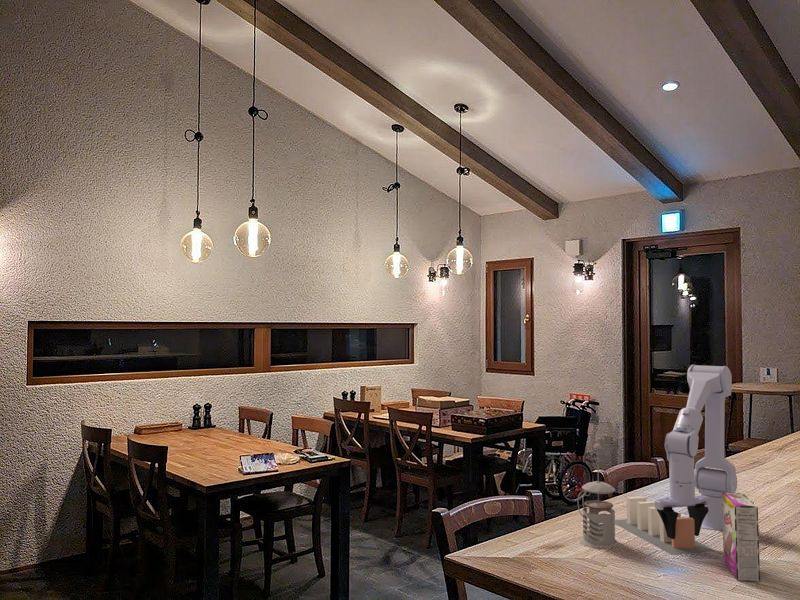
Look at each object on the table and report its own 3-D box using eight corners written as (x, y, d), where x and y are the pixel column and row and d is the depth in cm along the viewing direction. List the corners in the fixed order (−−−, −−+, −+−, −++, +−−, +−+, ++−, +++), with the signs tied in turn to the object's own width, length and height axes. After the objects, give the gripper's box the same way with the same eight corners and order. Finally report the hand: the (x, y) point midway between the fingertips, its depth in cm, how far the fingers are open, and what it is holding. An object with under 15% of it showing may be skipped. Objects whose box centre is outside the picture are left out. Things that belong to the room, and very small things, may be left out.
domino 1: (627, 522, 185) (626, 497, 185) (643, 521, 186) (642, 496, 186) (630, 524, 183) (629, 498, 184) (646, 523, 185) (646, 497, 185)
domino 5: (671, 545, 166) (671, 517, 167) (692, 546, 166) (692, 517, 166) (673, 547, 165) (673, 519, 165) (694, 548, 164) (694, 519, 164)
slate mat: (609, 521, 187) (609, 520, 187) (647, 518, 190) (647, 517, 190) (671, 556, 160) (671, 554, 160) (715, 552, 163) (715, 550, 163)
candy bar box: (721, 562, 156) (720, 491, 156) (745, 564, 155) (743, 492, 155) (735, 581, 145) (734, 504, 145) (761, 583, 144) (759, 505, 144)
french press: (598, 551, 164) (597, 448, 164) (566, 538, 174) (564, 441, 175) (628, 545, 168) (626, 444, 169) (594, 532, 178) (593, 437, 179)
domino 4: (659, 540, 170) (659, 512, 171) (677, 538, 171) (676, 511, 172) (663, 542, 169) (663, 514, 169) (681, 540, 170) (680, 512, 170)
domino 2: (637, 528, 180) (637, 502, 180) (653, 526, 181) (653, 500, 181) (640, 530, 179) (640, 503, 179) (657, 528, 180) (657, 502, 180)
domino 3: (648, 534, 175) (647, 507, 175) (665, 532, 176) (664, 505, 177) (652, 536, 174) (651, 508, 174) (669, 534, 175) (668, 507, 175)
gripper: (695, 475, 172) (696, 528, 171) (646, 479, 168) (647, 534, 167) (715, 481, 165) (716, 537, 164) (665, 485, 161) (666, 543, 160)
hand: (683, 536), depth 165 cm, fingers open, 6 cm apart
